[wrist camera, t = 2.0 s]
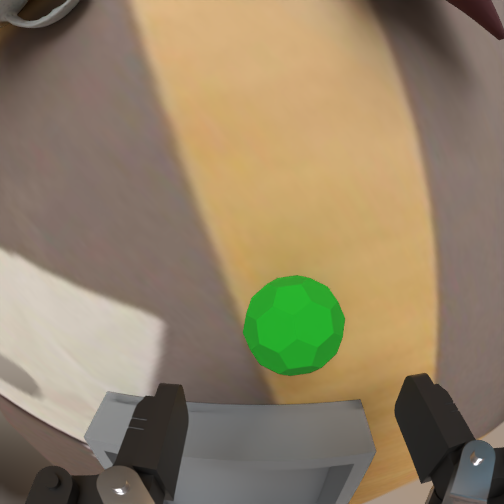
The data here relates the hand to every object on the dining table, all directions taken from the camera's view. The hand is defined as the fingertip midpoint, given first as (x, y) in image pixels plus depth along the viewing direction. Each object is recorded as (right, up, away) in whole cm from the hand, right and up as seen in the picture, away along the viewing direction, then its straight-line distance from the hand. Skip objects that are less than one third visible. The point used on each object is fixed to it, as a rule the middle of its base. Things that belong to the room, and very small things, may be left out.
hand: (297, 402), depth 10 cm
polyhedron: (+1, +2, +8) cm, 8 cm away
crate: (-3, -16, +14) cm, 21 cm away
